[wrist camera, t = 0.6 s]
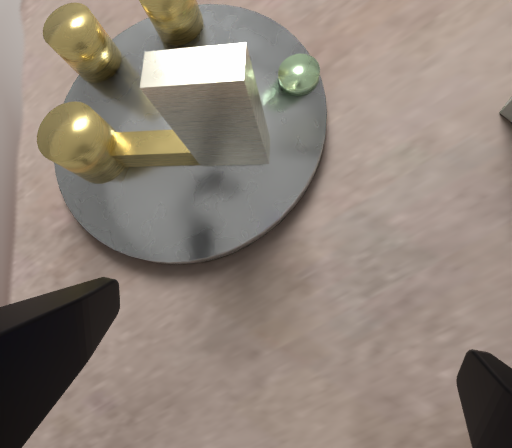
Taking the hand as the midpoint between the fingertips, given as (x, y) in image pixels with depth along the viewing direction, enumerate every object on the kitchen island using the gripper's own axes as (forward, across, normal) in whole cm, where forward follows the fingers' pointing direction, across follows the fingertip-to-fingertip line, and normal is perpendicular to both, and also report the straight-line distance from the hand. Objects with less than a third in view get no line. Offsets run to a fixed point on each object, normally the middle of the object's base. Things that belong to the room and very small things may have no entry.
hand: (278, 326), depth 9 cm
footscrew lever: (+16, +10, -1) cm, 19 cm away
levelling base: (+19, +10, -2) cm, 22 cm away
